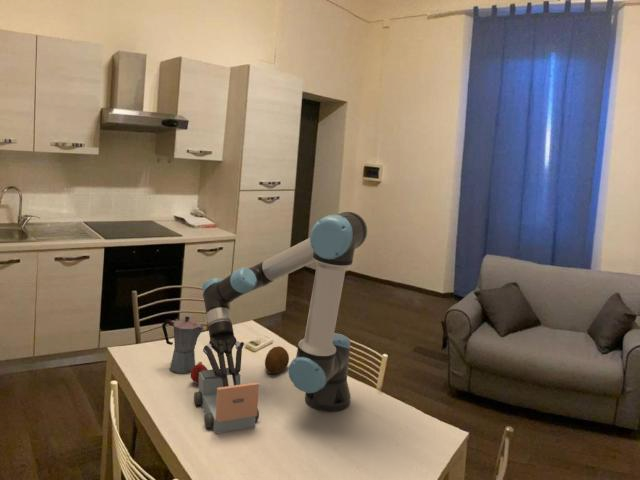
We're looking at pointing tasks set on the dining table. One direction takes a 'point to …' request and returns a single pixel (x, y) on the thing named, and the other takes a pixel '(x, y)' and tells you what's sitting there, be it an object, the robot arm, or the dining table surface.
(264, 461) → the dining table surface
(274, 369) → the potato
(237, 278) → the robot arm
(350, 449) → the dining table surface
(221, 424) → the pickup bed
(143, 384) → the dining table surface
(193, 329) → the moka pot
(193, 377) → the red rounded piece
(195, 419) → the dining table surface
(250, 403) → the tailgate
